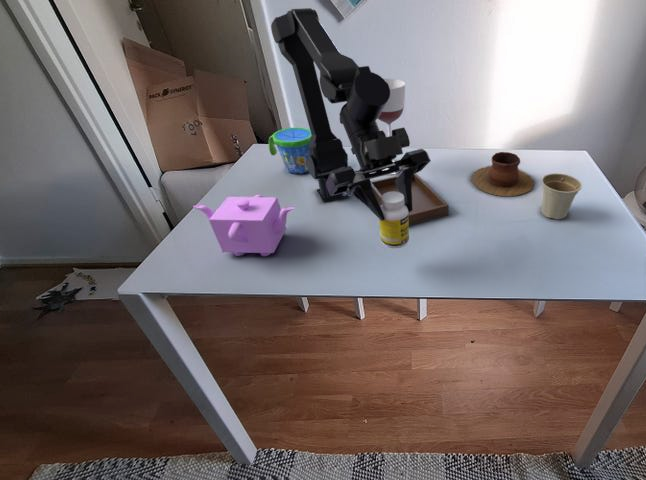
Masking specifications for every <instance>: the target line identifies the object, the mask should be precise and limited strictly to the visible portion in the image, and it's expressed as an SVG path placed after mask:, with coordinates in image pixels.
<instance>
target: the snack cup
mask: <svg viewBox="0 0 646 480" xmlns="http://www.w3.org/2000/svg"><path fill="white" fill-rule="evenodd" d="M310 138H311V131H310V128H309V129H308V128H305V127H299V126H298V127H287V128H282V129H280V130H277V131H275V132H273V134H272V135H271V136H269V138H268V150H269V153H270V155H271V156H276V155H277V152H278V154H279V155H280V157H281V160H282V162H283V165H284V167H285V169H286V170H287V172H288V173H292V174H301V175H303V174H304V173H309V171H308V168H307V160H308V157H309V155H310V154H309V150H308V145H309V142H310ZM275 145H276V146H275ZM276 147H277V148H276ZM277 150H278V151H277Z"/></svg>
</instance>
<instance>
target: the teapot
mask: <svg viewBox="0 0 646 480" xmlns="http://www.w3.org/2000/svg"><path fill="white" fill-rule="evenodd" d="M192 207H193V208H194V209H196V210H199V211H201V212H202V213H204V215H205V216H206V217H207V219H208V222H209V224H210V226H211V229H212V231H213V233H214V235H215V238H216V240H217V243H218V244H219V247H220V250H221V252H222V253H234V255H235V256H239V257H240V256H244V255H245V254H248V253H249V254H250V253H251V254H252V253H253V254H260V256H262V257H267V256H269V255H271V254H274V253H275V252H276V250H277V247H278V245H279V244H280V243H281V240H282V238H283V236H284V234H285V233H286V230H287V217H288V213H289V212H290V211H292V210H294V209H295V208H296V207H294V206H285V207H283V208H282V209H281V206H280V202H279V198H278V197H263V195H262V194H255V195H254V196H227V197H226V198H225V199H224V201H223V202H222V203H221V204H220V206H219V207H218V208H217V209H216V210H215V211H214V210H212V209H211V208H210V207H208V206H207V205H203V204H194V205H192Z"/></svg>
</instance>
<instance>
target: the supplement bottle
mask: <svg viewBox="0 0 646 480" xmlns="http://www.w3.org/2000/svg"><path fill="white" fill-rule="evenodd" d="M380 207H381V209H382V212H383V215H384V218H385V219H384V220H383V221H381V220H380V219H379V218H378V220H379V231H380V242H381V244H382V245H383V246H385V247H386V248H389V249H400V248H403V247H405V246H406V245H408V244H409V240H410V225H409V219H408V208H407V206H406V205H405V204H404V195H403V194H402V193H400V192H394V191H392V192H387V193H385V194H383V195H382V205H381V206H380Z"/></svg>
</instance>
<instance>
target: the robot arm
mask: <svg viewBox="0 0 646 480" xmlns="http://www.w3.org/2000/svg"><path fill="white" fill-rule="evenodd" d="M270 30H271V34H272V37H273V40H274V42H275V43H276V44H277V45H278V49H279V52H280V54H281V55H282V56H283V57H284V59H285V60H286V61H287V62H288V63H289V64H290V65H291V66H292V69H293V73H294V76H295V80H296V81H295V82H296V84H297V86H298V87H297V88H298V91H299V94H300V98H301V99H300V100H301V102H302V106H303V109H304V112H305V116H306V120H307V123H308V127H309V130H310V131H311V138H310V142H309V145H308V150H309V154H310V155H309V157H308V160H307V168H308V173H309V174H310V176H311V177H312V178H313V179H314V180H315V181H316V180H317V183H318V187H319V188H316V193H317V194H318V196H319V198H320V200H321V201H322V202H323V203H326V202H331V201H334V200H339V199H343V198H344V199H345V198H347V197H348V196H349V197H350V196H354V197H355V198H356V199H358V200H359V201H360V202H361V203H362V204H364V205H365V206H366V207H367V208H368V209H369V210H370V211H371V212H372V213H373V214H374V215H375V216H376V218H378V220H379V219H380V220H381V221H383V220H384V219H385V218H384V215H383V212H382V209H381V207H380V204H379V203H378V201H377V199H376V197H375V195H374V193H373V190H372V187H371V182H370V181H371V179H375V178H379V177H383V176H386V175H392V174H391V173H396V174H395V176H397V179H396V180H395V184H396V186H397V188H398V190H399V192H400V193H402V194H403V195H404V204H405V205H406V206H407V208H408V211H409V212H411V211H412V189H411V186H412V177H413V174H414V173H416V174H418V173H419V172H421V171H422V170H423V169H424V168H425V167H427V166H428V165H429V163H430V162H431V161H432V160H431V158H430V156H429V153H428V151H426V150H425V149H423V148H418V149H415V150H410V151H406V152H405V153H404V151H403V148H407V147H410V144H411V142H410V137H409V134H408V132H407V130H406V128H405V127H400V128H395V129H391V136H389V137H388V136H387V135H386V133H385V132H384V130H380V128H379V125H378V122H377V120H379V119H378V117H379V116H380V114H381V112H382V110H383V109H384V107H385V105H386V103H387V101H388V99H389V97H390V88H389V85H388V83H387V82H385V80H384V79H385V78H383V77H382V76H381V75H380V74H378V73H375V72H372V71H371V68H370V66H369V65H364V66H363V65H362V66H359V64H357V63H356V61H355V60H354V59H353V58H351V57H350V56H347V55H344V54H342V53H341V51H339V49H338V48H337V46H336V45H335V42H334V41H333V40H332V39H331V37H330V35H329V33H328V32H327V31H326V29H325V27H324V26H323V25H322V23H321V22H320V18H319V14H318V12H317V10H316V9H312V8H311V7H306V8H291V9H290V10H287V12H286V13H285V14H282V15H279V16H276V17H274V19H273V21H272V22H271V25H270ZM315 66H316V67H317V69H318V70H319V78H318V75H317V70H316V67H315ZM323 97H324V98H326V99H327V101H328V102H329V103H330V104H332V105H333V104H339V103H345V104H343V105H342V107H341V108H340V111H339V124H340V125H343V128H344V131H345V133H346V135H347V138H348V140H349V142H350V145H351V148H350V151H351V153H352V155H355V158H356V160H357V162H358V165H359V167H360V168H359V170H354V168H353V166H351V165H349V158H348V157H349V154H348V153H347V152H346V150H345V148H344V145H343V142H342V140H341V139H340V138H338V137H337V136H336V135H335V134H334V133H333V132H332V129H331V124H330V121H329V117H328V113H327V109H326V105H325V102H324V98H323ZM400 155H403V156H401V158H400V159H398V160H395V159H396V158H397V157H398V156H400ZM392 159H393V161H394V162H392ZM387 168H388V169H387ZM384 169H387V170H384ZM382 170H383V171H382Z"/></svg>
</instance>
